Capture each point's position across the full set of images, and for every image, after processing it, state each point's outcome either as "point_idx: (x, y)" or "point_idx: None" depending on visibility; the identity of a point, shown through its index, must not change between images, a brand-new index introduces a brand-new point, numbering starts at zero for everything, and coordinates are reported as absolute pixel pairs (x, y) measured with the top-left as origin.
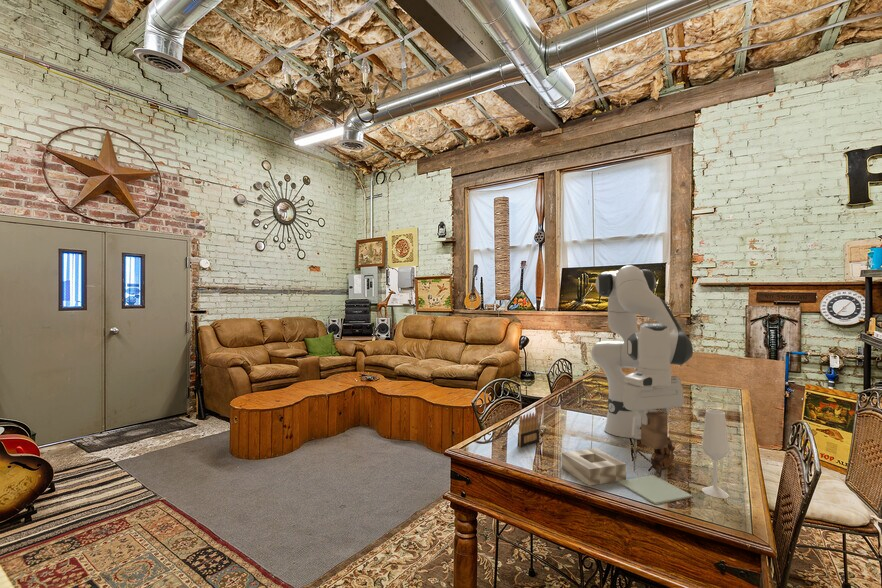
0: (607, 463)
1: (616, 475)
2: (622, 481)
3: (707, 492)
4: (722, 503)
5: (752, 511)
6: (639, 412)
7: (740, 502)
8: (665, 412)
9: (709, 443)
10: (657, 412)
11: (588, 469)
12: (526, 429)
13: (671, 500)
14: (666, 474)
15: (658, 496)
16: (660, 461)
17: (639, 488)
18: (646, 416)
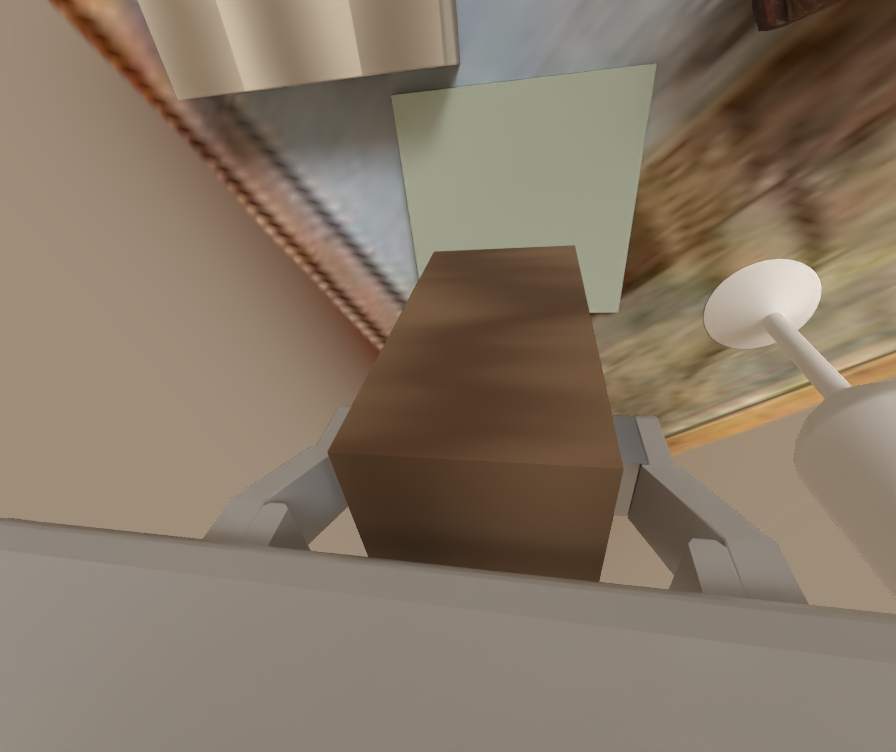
0: (319, 26)
1: (386, 73)
2: (411, 106)
3: (715, 307)
4: (675, 369)
5: (707, 425)
6: (241, 509)
7: (751, 383)
8: (681, 558)
9: (825, 495)
10: (509, 560)
11: (176, 90)
12: None
13: None
14: (782, 45)
15: None
16: (791, 22)
17: (445, 202)
18: (322, 523)
